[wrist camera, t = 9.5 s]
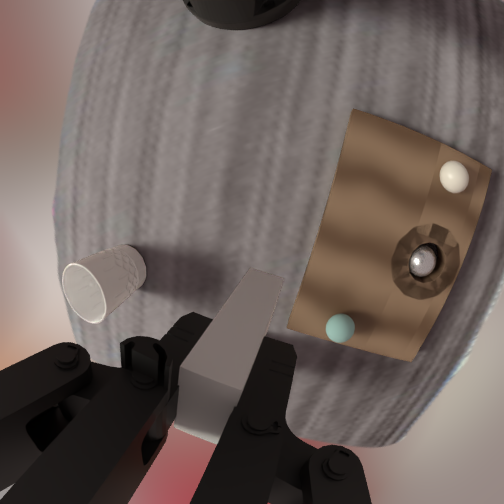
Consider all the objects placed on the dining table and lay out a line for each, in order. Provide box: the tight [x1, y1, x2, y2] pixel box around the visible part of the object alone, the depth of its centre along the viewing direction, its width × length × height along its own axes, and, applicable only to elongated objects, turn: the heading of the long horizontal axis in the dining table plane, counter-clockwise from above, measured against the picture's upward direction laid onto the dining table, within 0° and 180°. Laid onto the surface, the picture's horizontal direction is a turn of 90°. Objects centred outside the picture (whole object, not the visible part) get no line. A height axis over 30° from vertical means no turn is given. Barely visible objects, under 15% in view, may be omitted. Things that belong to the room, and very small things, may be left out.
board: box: [287, 109, 492, 362], centre depth 28 cm, size 25×17×2 cm
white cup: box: [62, 245, 146, 324], centre depth 34 cm, size 8×8×10 cm
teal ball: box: [326, 314, 355, 343], centre depth 30 cm, size 3×3×3 cm
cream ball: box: [440, 161, 469, 193], centre depth 22 cm, size 3×3×3 cm
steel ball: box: [408, 244, 436, 277], centre depth 28 cm, size 4×4×4 cm
